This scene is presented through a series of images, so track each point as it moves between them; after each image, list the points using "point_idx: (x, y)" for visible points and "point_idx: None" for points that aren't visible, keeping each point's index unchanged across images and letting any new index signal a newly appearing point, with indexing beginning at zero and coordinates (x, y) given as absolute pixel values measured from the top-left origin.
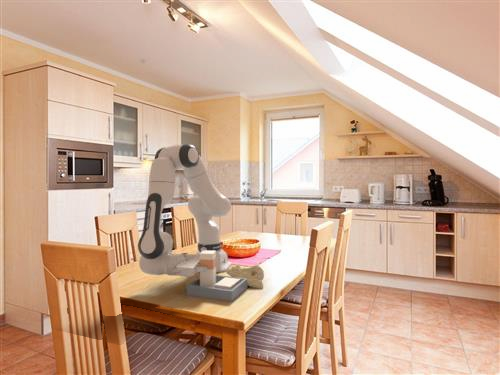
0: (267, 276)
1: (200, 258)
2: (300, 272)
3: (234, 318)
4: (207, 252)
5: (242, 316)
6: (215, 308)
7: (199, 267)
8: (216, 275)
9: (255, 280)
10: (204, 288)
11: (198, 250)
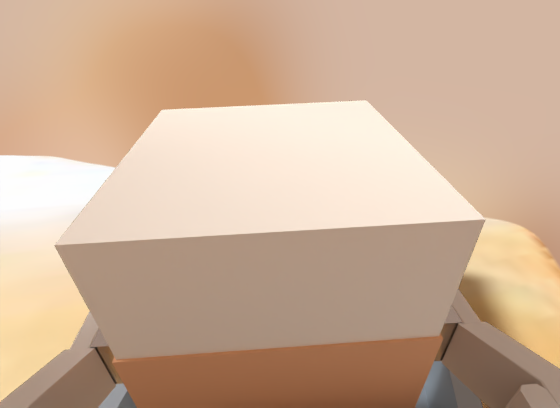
0: (46, 217)
1: (438, 308)
2: (49, 156)
3: (530, 245)
4: (315, 143)
5: (493, 229)
6: (509, 332)
7: (539, 359)
8: (122, 386)
9: None
10: (475, 398)
11: None
